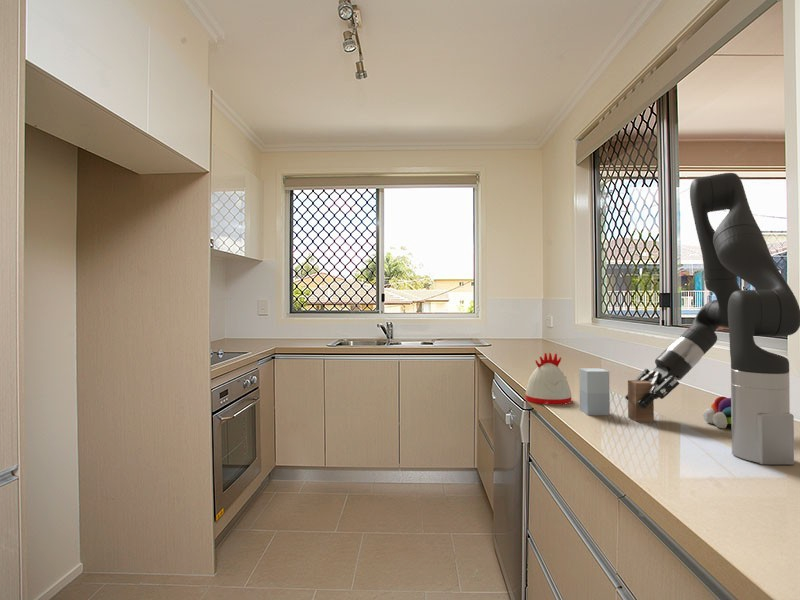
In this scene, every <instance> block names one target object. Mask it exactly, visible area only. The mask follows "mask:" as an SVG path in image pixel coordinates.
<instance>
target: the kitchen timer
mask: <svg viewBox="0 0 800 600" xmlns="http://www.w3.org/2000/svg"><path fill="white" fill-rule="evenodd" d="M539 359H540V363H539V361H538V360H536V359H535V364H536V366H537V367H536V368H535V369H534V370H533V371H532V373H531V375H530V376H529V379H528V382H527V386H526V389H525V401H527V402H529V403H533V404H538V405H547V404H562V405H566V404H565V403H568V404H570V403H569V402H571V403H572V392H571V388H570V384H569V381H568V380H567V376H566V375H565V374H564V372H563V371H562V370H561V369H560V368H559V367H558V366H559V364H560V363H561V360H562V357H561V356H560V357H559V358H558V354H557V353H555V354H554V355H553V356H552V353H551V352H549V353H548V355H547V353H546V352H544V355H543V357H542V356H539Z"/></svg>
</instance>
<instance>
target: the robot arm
mask: <svg viewBox="0 0 800 600" xmlns="http://www.w3.org/2000/svg"><path fill="white" fill-rule="evenodd" d="M745 190H746V189H745V187H744V185H743V182H742V179H741V178H740V176H739V175H738V174H737V173H734V172H725V173H718V174H712V175H707V176H702V177H696V178H694V179H693V180H692V181H691V183H690V187H689V199H690V205H691V212H692V216H693V220H694V225H695V231H696V234H697V239H698V243H699V247H700V250H701V254H702V255H701V256H702V263H703V264H702V265H703V275H704V276H703V277H704V284H705V288H706V289H707V291H710V292H711V293H713V294H714V295H715V298H716V299H712V300H710V301H709V302H707V303H705V304H704V305H703V306H702V307H701V308H699V309H700V310H699V311H698V312H697V314H696V316H695V318H694V319H693V321H692V322H691V324H690V327H688V328H687V329H686V330H685V331H684V332H683V333H682V334H681V335H680V336H679V337H678V338H677V339H675V340H674V341H673V342H672V343H671V344H670V345H668V346H667V347H666V348H665V350H663V351H662V352H661V353H660V354H659V355H658V356H657V357H656V358H655V360H654V364H655V365H656V367H654V368H653V369H651V370H650V369H648V368H645V369H644V370H643V371H642V372H641V373H640V374H639V375H638V376H637V377H636V378H635V380H645V381H648V382H651V384H650V385H651V388H650V390H649V391H648V392H649V393H646V394H645V395H644V396H643V397H642V398H641V399H640V400H639V401H638V404H639V405H640V406H641V407H642V408H644V409H645V408H646V407H647V406H648V405H649V404H650V403H651V402H652V401H653V400H654V401H655V400H658V399H661V400H662V399H665V397H667V395H669V394H670V393H671V392H672V391H674V389H675V388H677V387H678V386H679V385H680V382H679V381H681V380H682V379H683V378H684V377H685V376H686V375H687V374H688V373H689V372H690V371H691V370H692V369H693V368H694V367H695V366H696V365H697V364H699V362H700V361H701V359H702V358H703V356H705V354H706V353H707V352H709V350H710V349H711V348H713V347H714V346H715V344H716V343H717V341H718V336H717V334H716V330H717V329H719V328H725V329H728V335H729V354H730V368H731V369H730V398H731V424H730V425H731V428H730V429H731V454H732V455H734V456H736V457H737V458H740V459H742V460H746V461H749V462H755V463H757V464H759V465H795V430H794V429H795V427H794V426H795V425H794V424H795V421H794V419H795V418H794V414H792V413H790V412H791V411H790V409H791V408H790V406H791V403H790V397H791V396H790V360H789V359H788V358H787V357H786V356H784V355H781V354H778V353H774V352H770V351H767V350H765V349H763V348H762V347H760V346H758V345H757V343H756V342H755V339H754V337H787V336H792V335H794V334H795V333H797V332H798V331H799V329H800V306H799V302H798V299H797V297H796V296H795V294H794V293H793V290H792V289H791V287H790V286H789V284H788V282H787V281H786V279H785V278H784V276H783V275H782V273H781V272H780V270H779V269H778V266H777V265H776V263H775V261H774V259H773V257H772V255H771V252H770V250H769V247H768V244H767V241H766V240H765V237H764V234H763V232H762V230H761V228H760V227H759V225H758V223H757V221H756V219H755V217H754V214H753V212H752V210H751V208H750V204H749V201H748V198H747V194H746V191H745ZM725 210H728V213H727V215H726V216H725V217H724V218H723V219H722V220H721V222H720V223H719V224H718V226H717V228H716V229H714V227H712V225H711V221H710V218H709V215H708V214H709V213H712V212H717V211H718V212H719V211H725ZM738 278H739V279H741V280H743V281H745V282H746V283H748V284H749V285H750V286H752V287H754V289H741V288H740V285H739V283H738ZM624 398H625V400H627V401H628V393H627V394H626V395H625V396H624Z"/></svg>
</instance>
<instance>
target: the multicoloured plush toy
mask: <svg viewBox="0 0 800 600" xmlns="http://www.w3.org/2000/svg"><path fill="white" fill-rule="evenodd" d="M702 417H703V419H704V421H705V422H706V423H708V424H711V425H715V426H716V427H717V428H719V429H726V428H727V426H728V425H731V397H726V396H719V397H717V398H716V399H715V400H714V402H713V403H712V404H711V406H710V407H709V408H706V409H705V410H704V411H703V414H702Z"/></svg>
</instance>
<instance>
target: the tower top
mask: <svg viewBox="0 0 800 600" xmlns="http://www.w3.org/2000/svg"><path fill="white" fill-rule="evenodd" d="M578 372H579V391H580V390H582V391H584V392H586V393H610V371H608V370H606V369H603V368H601V367H600V368H597V367H596V368H595V367H594V368H592V367H591V368H589V367H588V368H587V367H586V368H584V367H583V368H582V367H581V368H580V367H579V371H578ZM610 394H611V393H610Z"/></svg>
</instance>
